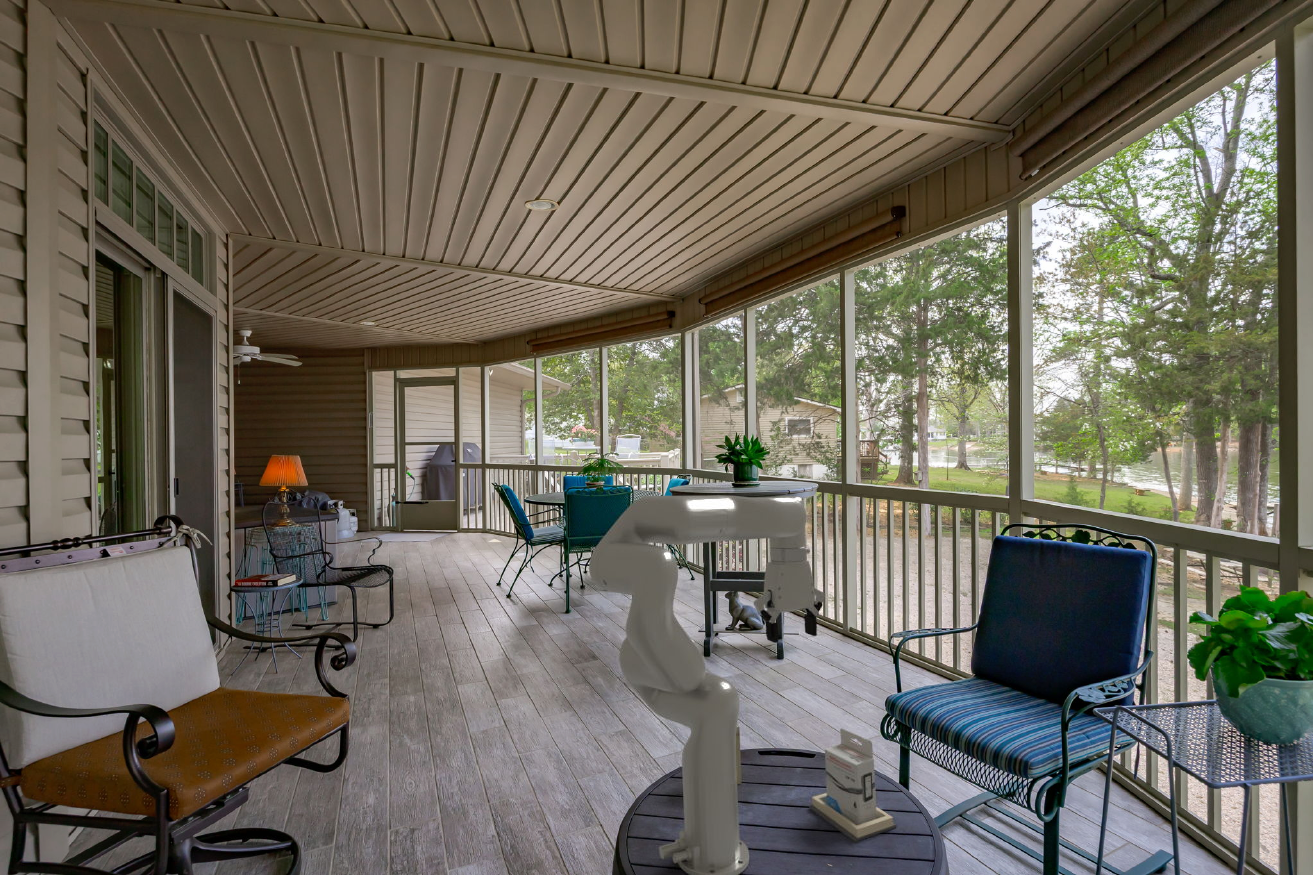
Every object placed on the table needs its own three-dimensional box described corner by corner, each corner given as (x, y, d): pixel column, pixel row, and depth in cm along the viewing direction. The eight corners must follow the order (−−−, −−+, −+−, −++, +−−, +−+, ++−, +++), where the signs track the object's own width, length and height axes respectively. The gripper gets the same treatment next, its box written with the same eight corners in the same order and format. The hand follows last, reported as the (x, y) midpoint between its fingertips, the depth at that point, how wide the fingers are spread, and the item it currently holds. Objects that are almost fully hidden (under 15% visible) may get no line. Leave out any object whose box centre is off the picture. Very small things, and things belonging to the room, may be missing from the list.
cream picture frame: (854, 841, 115) (854, 830, 115) (809, 808, 127) (808, 797, 127) (896, 827, 119) (896, 816, 119) (849, 796, 131) (848, 786, 131)
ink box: (825, 809, 126) (822, 732, 126) (843, 801, 128) (839, 726, 129) (860, 829, 118) (856, 747, 119) (878, 820, 121) (874, 741, 122)
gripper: (810, 550, 141) (814, 628, 140) (743, 557, 134) (747, 639, 133) (832, 553, 134) (837, 636, 133) (763, 561, 127) (767, 648, 126)
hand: (792, 637), depth 133 cm, fingers open, 9 cm apart
